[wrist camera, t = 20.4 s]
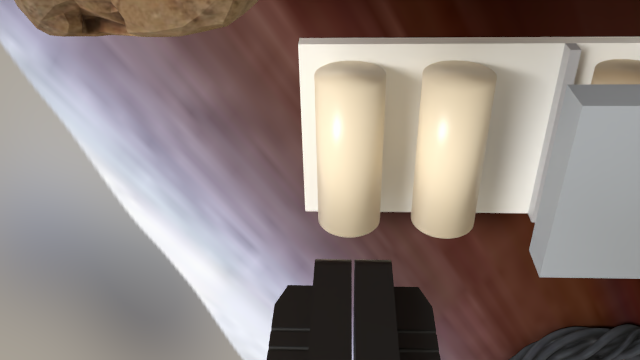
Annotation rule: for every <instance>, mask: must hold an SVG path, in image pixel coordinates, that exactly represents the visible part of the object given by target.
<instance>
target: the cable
mask: <svg viewBox="0 0 640 360" xmlns="http://www.w3.org/2000/svg"><path fill="white" fill-rule="evenodd" d="M509 360H640V327H638V326H635V325H631V324H625V325H620V326H617V327H615V328H613V329H609V328H588V327H568V328H564V329H560V330H557V331H555V332H552V333H550V334H549V335H547V336H545V337H543V338H542V339H541V340H539V341H537V342H534V343H532V344H530V345H528V346H526V347H525V348H523V349H522V350H520V351H519V352H518V353H517V354H516V355H515V356H513V357H512V358H511V359H509Z"/></svg>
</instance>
